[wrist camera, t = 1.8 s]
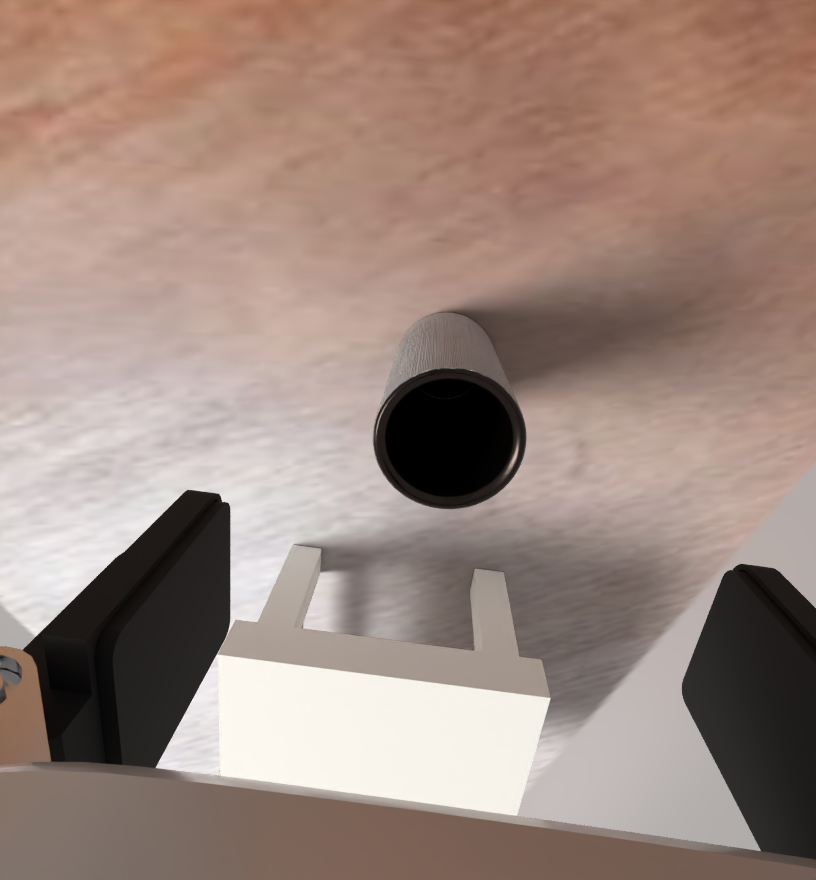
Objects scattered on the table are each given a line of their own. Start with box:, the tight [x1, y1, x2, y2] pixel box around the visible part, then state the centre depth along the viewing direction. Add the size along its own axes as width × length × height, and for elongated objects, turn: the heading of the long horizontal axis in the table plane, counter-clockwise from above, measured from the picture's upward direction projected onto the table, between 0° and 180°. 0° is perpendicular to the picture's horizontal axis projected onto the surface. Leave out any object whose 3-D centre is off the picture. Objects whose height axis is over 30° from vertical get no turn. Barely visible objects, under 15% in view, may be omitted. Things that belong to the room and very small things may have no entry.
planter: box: [373, 312, 526, 509], centre depth 21 cm, size 4×4×10 cm
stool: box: [218, 545, 551, 816], centre depth 28 cm, size 13×13×9 cm
